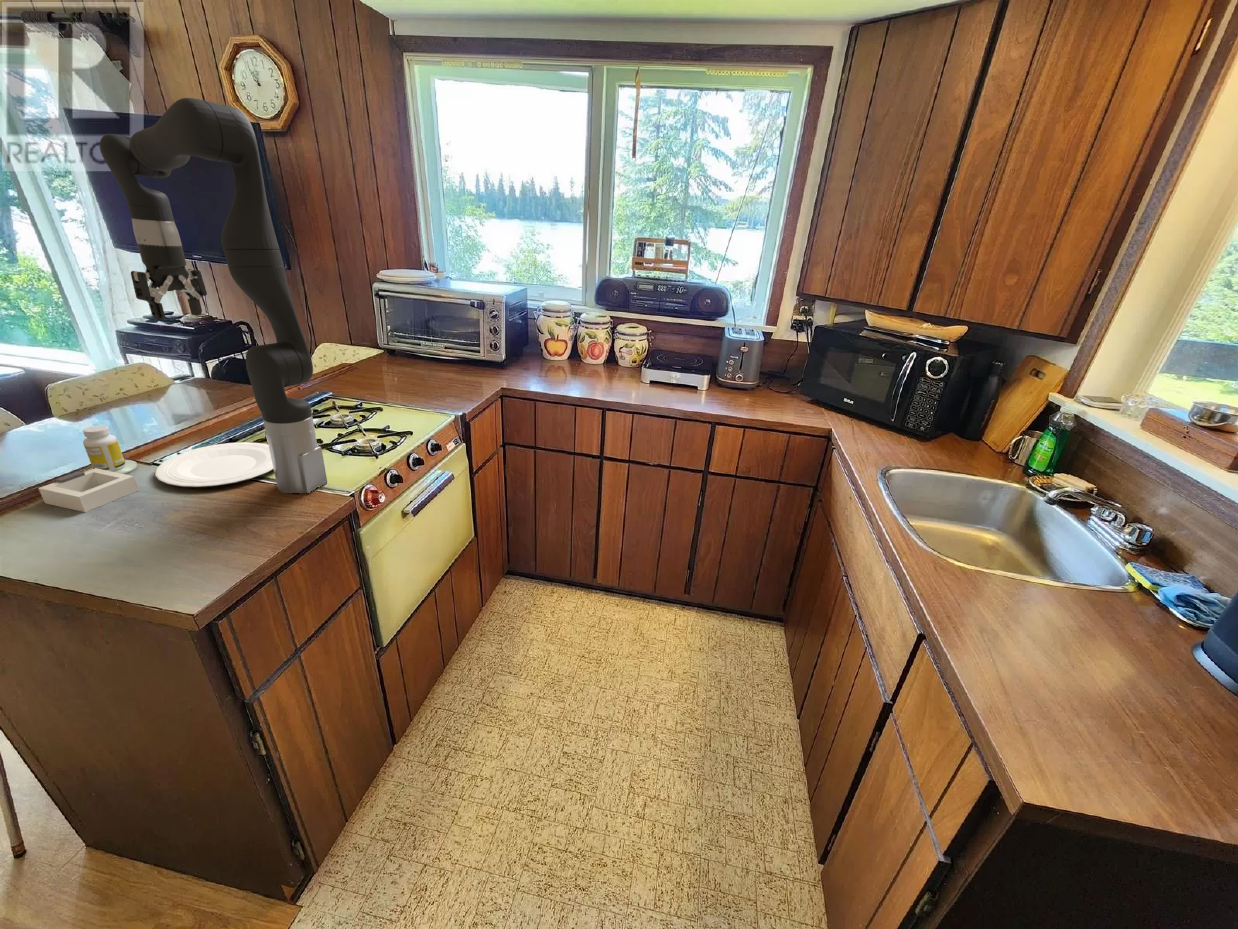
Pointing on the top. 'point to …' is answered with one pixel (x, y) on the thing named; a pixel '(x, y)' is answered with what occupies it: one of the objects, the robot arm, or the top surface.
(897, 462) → the top surface
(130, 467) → the coaster
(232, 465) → the plate
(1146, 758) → the top surface
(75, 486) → the shallow beige tray
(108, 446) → the supplement bottle
